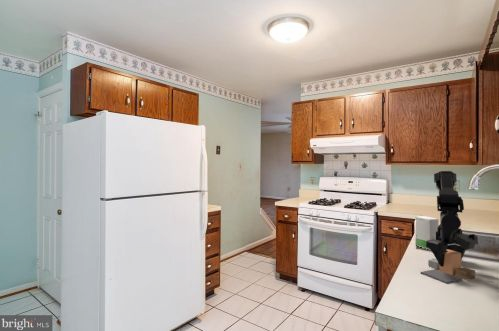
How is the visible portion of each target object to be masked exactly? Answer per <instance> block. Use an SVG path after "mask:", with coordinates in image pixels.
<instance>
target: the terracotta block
mask: <svg viewBox="0 0 499 331" xmlns="http://www.w3.org/2000/svg"><path fill="white" fill-rule="evenodd" d="M447 251H448V252H447V253H445V257H444V266H443V267H442V266H440V265H439V269H438V270H439V271H442V272H445V273H448V274H450V275H453V276H456V269H459V268H463V267H462V260H461V253H460V252H456V251H452V250H449V249H447Z"/></svg>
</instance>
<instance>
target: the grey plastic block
mask: <svg viewBox="0 0 499 331" xmlns="http://www.w3.org/2000/svg"><path fill="white" fill-rule="evenodd" d="M427 264H428V266H429V267H428V268H430V267H431V268H430V269H433V268H434V269H436V270H440V269H439V263H438V261H437V259H436V258H432V259H428V262H427ZM434 269H433V270H434Z"/></svg>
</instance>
